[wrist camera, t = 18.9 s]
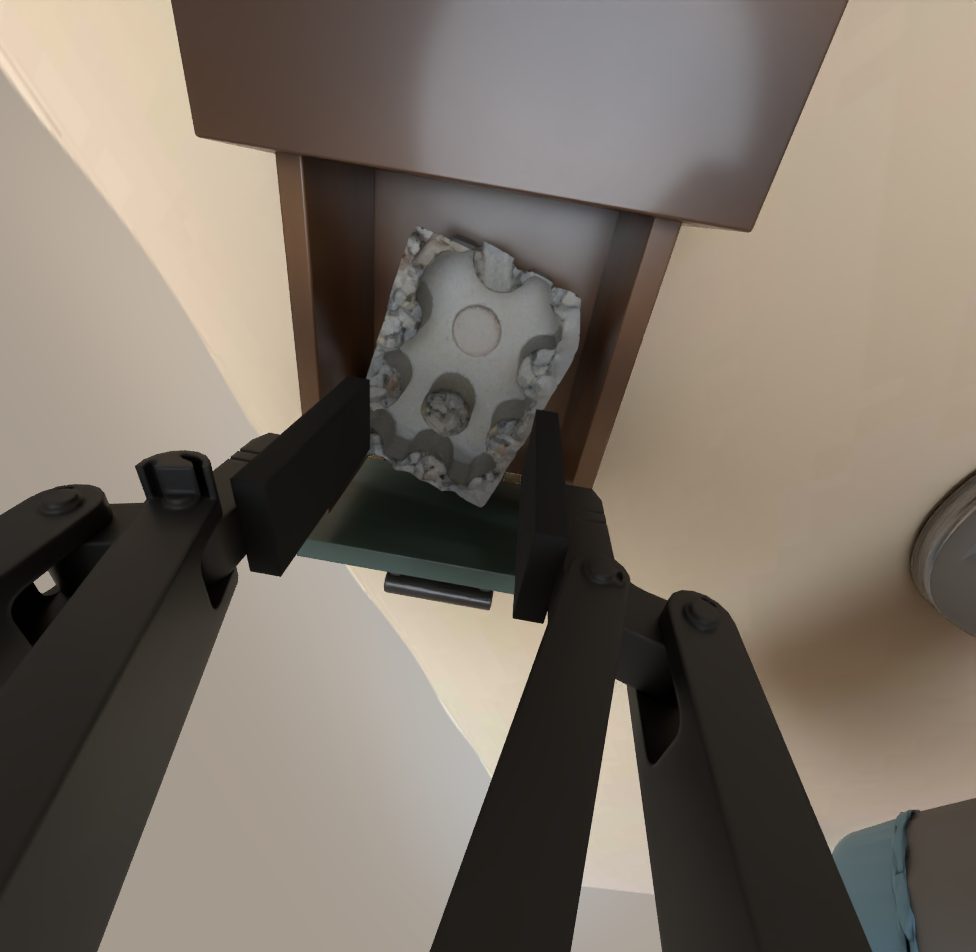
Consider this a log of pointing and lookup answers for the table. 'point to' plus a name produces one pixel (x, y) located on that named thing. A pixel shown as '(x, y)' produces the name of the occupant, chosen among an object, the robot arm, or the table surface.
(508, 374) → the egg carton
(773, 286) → the table surface
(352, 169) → the drawer
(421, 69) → the cabinet
